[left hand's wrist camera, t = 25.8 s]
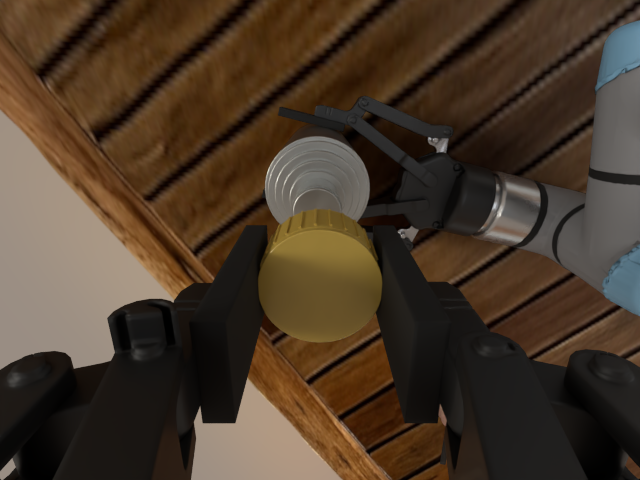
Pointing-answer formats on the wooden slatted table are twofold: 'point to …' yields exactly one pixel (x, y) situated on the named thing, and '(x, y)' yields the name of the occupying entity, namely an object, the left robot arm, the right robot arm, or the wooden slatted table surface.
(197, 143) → the wooden slatted table surface
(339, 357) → the wooden slatted table surface
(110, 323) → the left robot arm
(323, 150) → the bottle
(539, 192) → the right robot arm
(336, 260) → the cap
